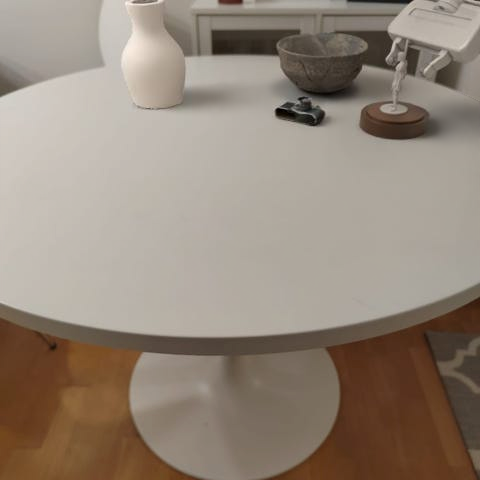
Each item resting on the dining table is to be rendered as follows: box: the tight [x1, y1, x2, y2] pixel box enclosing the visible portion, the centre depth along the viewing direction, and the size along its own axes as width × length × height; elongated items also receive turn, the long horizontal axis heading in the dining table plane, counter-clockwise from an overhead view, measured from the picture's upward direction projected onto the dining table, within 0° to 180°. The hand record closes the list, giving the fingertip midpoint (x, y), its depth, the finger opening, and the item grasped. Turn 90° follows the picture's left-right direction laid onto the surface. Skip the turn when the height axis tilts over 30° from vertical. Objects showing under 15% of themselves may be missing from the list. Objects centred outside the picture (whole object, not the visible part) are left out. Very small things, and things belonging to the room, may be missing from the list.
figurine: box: [380, 40, 409, 115], centre depth 86 cm, size 5×5×12 cm
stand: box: [358, 100, 431, 140], centre depth 90 cm, size 13×13×3 cm
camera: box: [274, 95, 326, 126], centre depth 95 cm, size 5×10×4 cm, turn 53°
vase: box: [120, 0, 187, 110], centre depth 100 cm, size 14×14×20 cm
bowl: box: [275, 31, 369, 94], centre depth 106 cm, size 21×21×10 cm
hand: (405, 69), depth 84 cm, fingers open, 8 cm apart
